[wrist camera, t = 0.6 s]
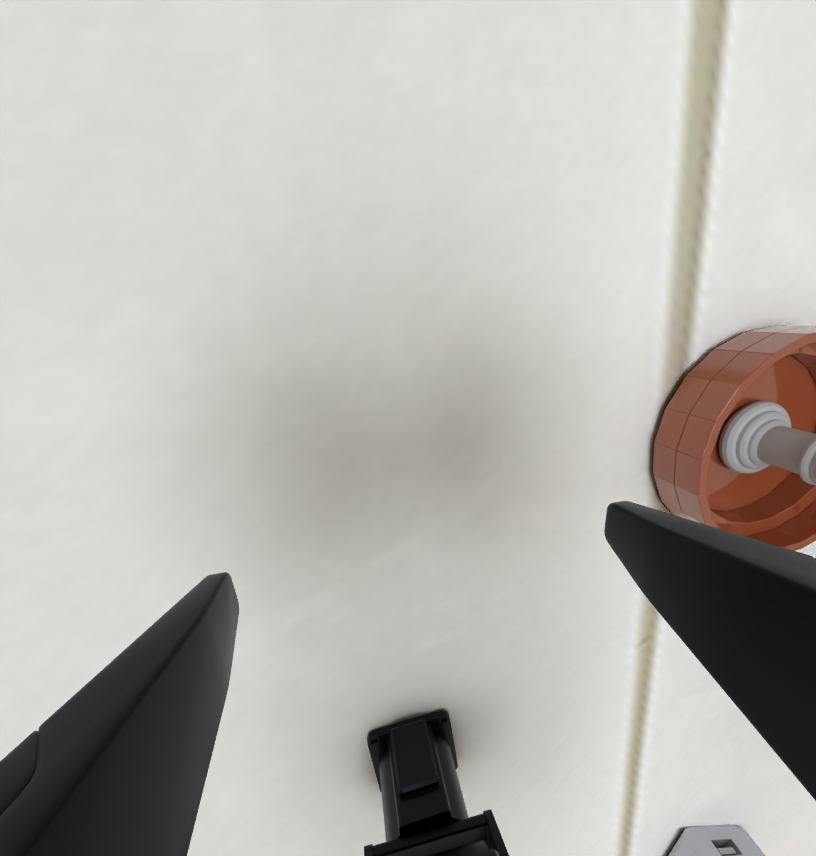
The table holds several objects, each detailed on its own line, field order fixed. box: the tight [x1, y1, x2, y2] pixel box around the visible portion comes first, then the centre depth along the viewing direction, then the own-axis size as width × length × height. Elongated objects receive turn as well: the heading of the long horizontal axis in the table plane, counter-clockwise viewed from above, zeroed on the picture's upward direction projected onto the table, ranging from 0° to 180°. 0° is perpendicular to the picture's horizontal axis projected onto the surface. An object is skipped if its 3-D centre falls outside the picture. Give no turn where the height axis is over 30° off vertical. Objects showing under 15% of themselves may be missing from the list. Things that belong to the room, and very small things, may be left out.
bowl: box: [653, 326, 816, 551], centre depth 26 cm, size 15×15×4 cm
